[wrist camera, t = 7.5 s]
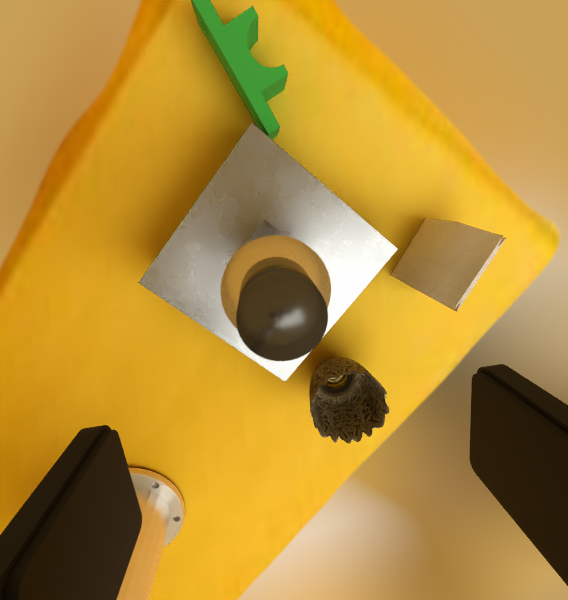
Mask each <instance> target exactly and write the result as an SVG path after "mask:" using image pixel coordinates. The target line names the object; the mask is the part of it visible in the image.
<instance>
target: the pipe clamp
mask: <svg viewBox="0 0 568 600" xmlns="http://www.w3.org/2000/svg"><path fill="white" fill-rule="evenodd" d="M191 2H192V5H193V8H194V11H195V14H196V17H197V21H198V23H199V25H200V26H201V28H202V30H203V32H204V33H205V35H206V37H207V39H208V40H209V42H210V44H211V46H212V47H213V49H214V51H215V53H216V54H217V56H218V58H219V60H220V61H221V63H222V65H223V67H224V68H225V70H226V72H227V74H228V75H229V77H230V79H231V81H232V82H233V84H234V86H235V88H236V89H237V91H238V93H239V95H240V96H241V98H242V100H243V102H244V103H245V105H246V107H247V109H248V110H249V112H250V114H251V116H252V117H253V119H254V121H255V123H256V124H257V126H258V128H259V129H260V130H261V131H262V132H263V133H265V134H266V135H267V136H268V137H269V138H270V139H271V140H272V139H273V138H275V137H276V136H277V134H278V131H279V128H280V126H279V124H278V122H277V120H276V119H275V117H274V115H273V113H272V111H271V110H270V108H269V106H268V104H267V101H268V100H270V99H271V98H273V97H274V96H276V95H277V94H279V93H280V92H282V91H283V90H284V88H285V84H286V80H287V76H288V72H287V70H286V68H285V66H284V64H283V65H281V66H279V67H275V68H269V67H265V66H262V65H261V64H259V63H258V62H257V61H256V60H255V59H254V58H253V57H252V55H251V53H250V49H251V47H252V46H253V45H254V43H255V42H257V41H258V15H257V13H256V11H255V9H254V7H253V6H252V7H250V8H249V9H247V10H246V11H245V12H243V13H242V14H240V15H239V16H237V17H236V18H234V19H233V20H232V21H230V22H229V23H227V24H226V25H223V23H222V21H221V19H220V17H219V16H218V14H217V12H216V10H215V8H214V7H213V5H212V3H211V1H210V0H191Z"/></svg>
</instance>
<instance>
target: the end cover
mask: <svg viewBox="0 0 568 600" xmlns="http://www.w3.org/2000/svg"><path fill="white" fill-rule="evenodd" d="M220 294H221V301H222V306H223V309H224V311H225V314H226V315H227V317H228V319H229V320H230V322H231V323H232V324H233V326H234V327H235V328H236V329H237V330H238V332H239V335H240V337H241V339H242V341H243V342H244V344H245V345H246V346H247V347H248V348H249V349H250V350H251V351H252V352H254V353H255V354H257V355H258V356H260V357H262V358H265V359H268V360H272V361H290V360H294V359H297V358H300V357H302V356H304V355H306V354H307V353H309V352H310V351H311V350H313V349H314V348H315V347H316V346H317V345H318V343H319V342H320V341H321V339H322V337H323V336H324V333H325V331H326V328H327V324H328V310H327V309H328V306H329V302H330V297H331V282H330V277H329V273H328V270H327V268H326V266H325V264H324V263H323V261H322V259H321V258H320V257H319V256H318V254H317V253H316V252H315V251H313V250H312V249H311V248H310V247H309V246H308V245H306V244H305V243H303V242H302V241H300V240H298V239H295V238H292V237H289V236H285V235H266V236H261V237H258V238H255V239H253V240H251V241H249V242H247V243H246V244H244V245H243V246H242V247H240V248H239V249H238V250H237V251H236V252H235V253H234V255H233V256H232V257H231V259H230V260H229V262H228V264H227V266H226V268H225V271H224V273H223V277H222V281H221V290H220Z"/></svg>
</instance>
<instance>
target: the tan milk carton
mask: <svg viewBox="0 0 568 600" xmlns="http://www.w3.org/2000/svg"><path fill="white" fill-rule="evenodd" d="M502 237H503V236H502V235H498V234H494V233H491V232H488V231H484V230H481V229H478V228H475V227H472V226H468V225H465V224H462V223H459V222H454V221H445V220H435V219H426V218H425V220H424V222H423V223H422V225H421V226H420V228H419V230H418V231H417V233H416V235H415V236H414V238H413V239H412V241H411V243H410V244H409V246H408V248H407V249H406V251H405V252H404V254H403V256H402V257H401V259H400V261H399V262H398V264H397V265H396V267H395V269H394V270H393V272H392V274H391V276H393V277H395V278H397V279H398V280H400V281H402V282H404V283H406V284H407V285H409V286H411V287H413V288H415V289H416V290H418V291H420V292H422V293H424V294H425V295H427V296H429V297H431V298H433V299H435V300H436V301H438V302H440V303H442V304H444V305H445V306H447V307H449V308H451V309H453V310H454V311H456V312H457V311H458V309H459V308H460V306H461V305H462V303H463V302H464V300H465V299H466V297H467V296H468V294H469V293H470V291H471V290H472V288H473V287H474V285H475V284H476V282H477V281H478V280H479V278H480V277H481V275H482V274H483V272H484V271H485V269H486V268H487V266H488V265H489V263H490V262H491V260H492V259H493V257H494V256H495V254H496V253H497V251H498V250H499V248H500V247H501V245H502V244H503V242H504V241H505V240H506V238H502Z"/></svg>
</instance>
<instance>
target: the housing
mask: <svg viewBox="0 0 568 600" xmlns="http://www.w3.org/2000/svg"><path fill="white" fill-rule="evenodd" d="M266 235H285V236H289V237H292V238H295V239H298V240H300V241H302V242H303V243H305V244H306V245H308V246H309V247H310V248H311V249H312V250H313V251H315V252H316V253H317V254H318V256H319V257H320V258H321V259H322V261H323V263H324V264H325V266H326V268H327V270H328V273H329V277H330V282H331V297H330V302H329V306H328V309H327V310H328V324H327V328H326V331H325V333H324V335H325V334H326V333H327V332H328V331H329V330H330V328H331V327H332V326H333V325H334V324H335V322H336V321H337V320H338V319H339V318H340V317H341V315H342V314H343V313H344V312H345V311H346V310H347V308H348V307H349V306H350V305H351V304H352V302H353V301H354V300H355V299H356V298H357V297H358V295H359V294H360V293H361V292H362V291H363V290H364V288H365V287H366V286H367V285H368V284H369V282H370V281H371V280H372V279H373V278H374V277H375V275H376V274H377V273H378V272H379V271H380V270H381V268H382V267H383V266H384V265H385V264H386V262H387V261H388V260H389V259H390V258H391V257H392V255H393V254H394V253H395V252H396V251H397V250H398V249H397V248H396V247H395V246H394V245H393V244H391V243H390V242H389V241H388V240H387V239H386V238H385V237H383V236H382V235H381V234H380V233H379V232H378V231H376V230H375V229H374V228H373V227H372V226H371V225H370V224H368V223H367V222H366V221H365V220H364V219H363V218H361V217H360V216H359V215H358V214H357V213H356V212H355V211H353V210H352V209H351V208H350V207H349V206H348V205H346V204H345V203H344V202H343V201H342V200H341V199H340V198H338V197H337V196H336V195H335V194H334V193H333V192H331V191H330V190H329V189H328V188H327V187H326V186H325V185H323V184H322V183H321V182H320V181H319V180H318V179H316V178H315V177H314V176H313V175H312V174H311V173H310V172H308V171H307V170H306V169H305V168H304V167H303V166H301V165H300V164H299V163H298V162H297V161H296V160H295V159H293V158H292V157H291V156H290V155H289V154H288V153H286V152H285V151H284V150H283V149H282V148H281V147H280V146H278V145H277V144H276V143H275V142H274V141H273V140H271V139H270V138H269V137H268V136H267V135H266V134H265V133H263V132H262V131H261V130H260V129H259V128H258V127H257V126H255V125H254V124H253V123H251V124H250V126H249V127H248V128H247V130H246V131H245V133H244V134H243V135H242V137H241V138H240V140H239V141H238V143H237V144H236V145H235V147H234V148H233V150H232V151H231V152H230V154H229V155H228V157H227V158H226V160H225V161H224V162H223V164H222V165H221V167H220V168H219V169H218V171H217V172H216V174H215V175H214V176H213V178H212V179H211V181H210V182H209V184H208V185H207V186H206V188H205V189H204V191H203V192H202V193H201V195H200V196H199V198H198V199H197V201H196V202H195V203H194V205H193V206H192V208H191V209H190V210H189V212H188V213H187V215H186V216H185V217H184V219H183V220H182V222H181V223H180V225H179V226H178V227H177V229H176V230H175V232H174V233H173V234H172V236H171V237H170V239H169V240H168V241H167V243H166V244H165V246H164V247H163V249H162V250H161V251H160V253H159V254H158V256H157V257H156V258H155V260H154V261H153V263H152V264H151V266H150V267H149V268H148V270H147V271H146V273H145V274H144V275H143V277H142V278H141V280H140V281H139V282H138V283H140V284H141V285H143V286H144V287H145V288H147V289H148V290H150V291H151V292H153V293H154V294H156V295H157V296H159V297H160V298H162V299H163V300H165V301H166V302H168V303H169V304H171V305H172V306H174V307H175V308H177V309H178V310H180V311H181V312H183V313H184V314H186V315H187V316H189V317H190V318H191V319H193V320H194V321H196V322H197V323H199V324H200V325H202V326H203V327H205V328H206V329H208V330H209V331H211V332H212V333H214V334H215V335H217V336H218V337H220V338H221V339H223V340H224V341H226V342H227V343H229V344H230V345H232V346H233V347H235V348H236V349H237V350H239V351H240V352H242V353H243V354H245V355H246V356H248V357H249V358H251V359H252V360H254V361H255V362H257V363H258V364H260V365H261V366H263V367H264V368H266V369H267V370H269V371H270V372H272V373H273V374H275V375H276V376H278V377H279V378H281V379H282V380H283V381H286V380H287V379H288V378H289V377H290V375H291V374H292V373H293V372H294V371H295V370H296V368H297V367H298V366H299V365H300V364H301V362H302V361H303V360H304V359H305V358H306V357H307V355H308V354H309V353H310V352H311V351H312V350H311V351H310V352H309V353H307V354H306V355H304V356H302V357H300V358H297V359H294V360H290V361H272V360H268V359H265V358H262V357H260V356H258V355H257V354H255V353H254V352H252V351H251V350H250V349H249V348H248V347H247V346H246V345H245V344H244V342H243V341H242V339H241V337H240V335H239V332H238V330H237V329H236V328H235V327H234V326H233V324H232V323H231V322H230V320H229V319H228V317H227V315H226V314H225V311H224V309H223V306H222V301H221V294H220V290H221V281H222V277H223V273H224V271H225V268H226V266H227V264H228V262H229V260H230V259H231V257H232V256H233V255H234V253H235V252H236V251H237V250H238V249H239V248H240V247H242V246H243V245H244V244H246V243H247V242H249V241H251V240H253V239H255V238H258V237H261V236H266ZM323 337H324V336H323ZM323 337H322V338H323Z"/></svg>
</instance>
